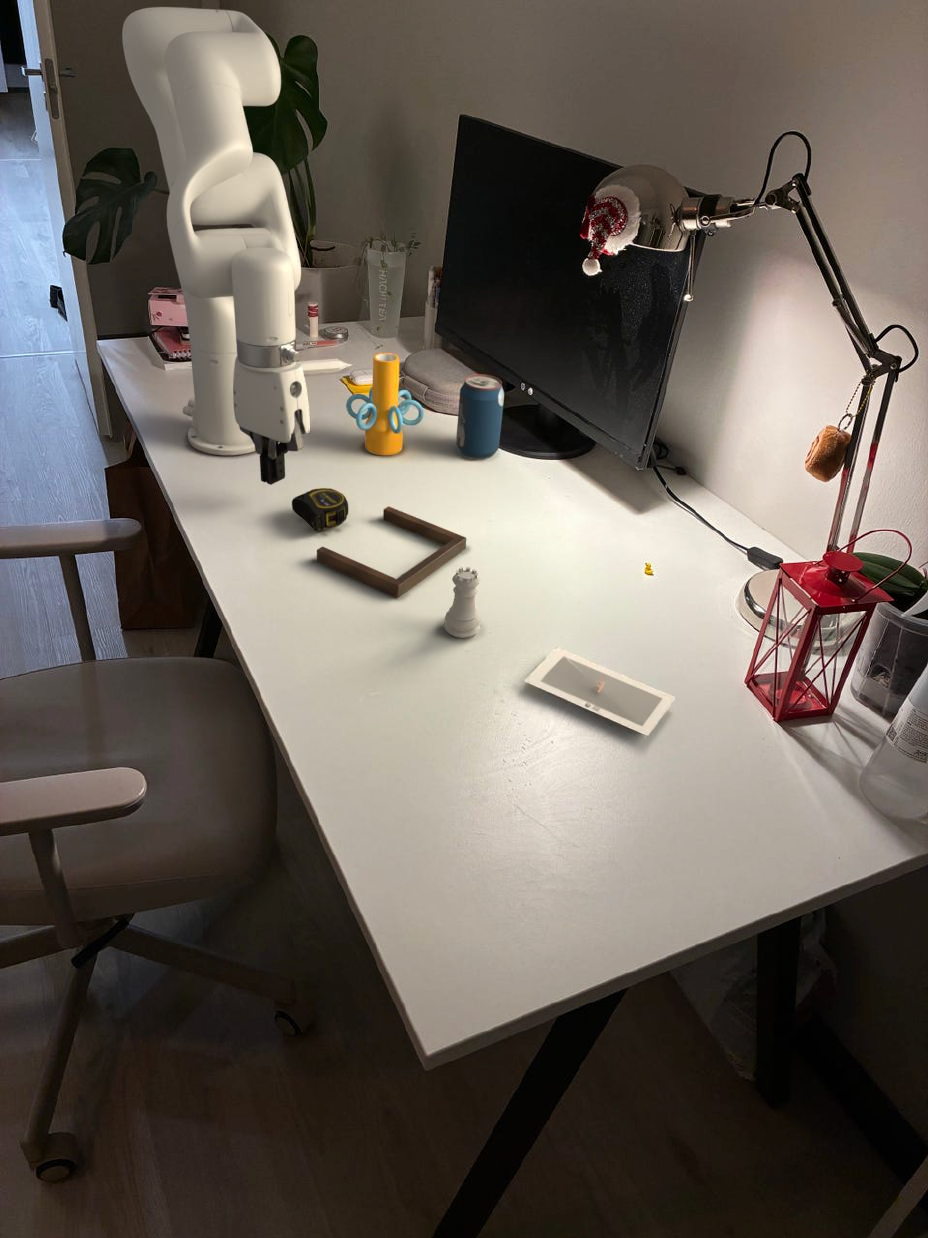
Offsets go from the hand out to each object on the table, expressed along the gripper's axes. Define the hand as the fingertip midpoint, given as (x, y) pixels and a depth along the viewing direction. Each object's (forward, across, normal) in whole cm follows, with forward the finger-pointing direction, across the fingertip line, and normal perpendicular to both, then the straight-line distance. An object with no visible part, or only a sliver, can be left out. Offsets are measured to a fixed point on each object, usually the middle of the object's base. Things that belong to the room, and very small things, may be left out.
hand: (273, 479), depth 135 cm
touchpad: (+5, -56, +8) cm, 57 cm away
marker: (+3, +29, -41) cm, 50 cm away
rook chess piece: (+5, -37, +8) cm, 38 cm away
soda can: (+4, -12, -34) cm, 37 cm away
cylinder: (+4, 0, -25) cm, 26 cm away
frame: (+4, -20, 0) cm, 21 cm away
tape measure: (+4, -8, 0) cm, 9 cm away
